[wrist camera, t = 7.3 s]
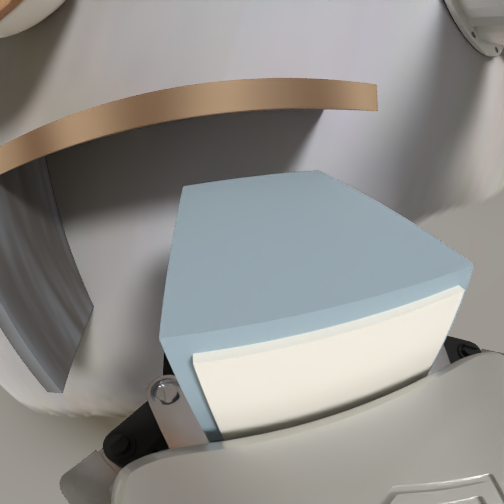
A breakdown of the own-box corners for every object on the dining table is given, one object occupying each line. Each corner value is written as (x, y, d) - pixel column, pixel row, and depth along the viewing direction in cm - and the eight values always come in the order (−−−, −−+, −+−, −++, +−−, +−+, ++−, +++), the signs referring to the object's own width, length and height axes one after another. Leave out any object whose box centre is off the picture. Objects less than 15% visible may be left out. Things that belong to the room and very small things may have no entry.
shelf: (323, 90, 18) (413, 83, 9) (323, 270, 25) (378, 347, 16) (-10, 162, 14) (-88, 201, 6) (43, 311, 22) (6, 386, 13)
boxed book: (317, 170, 12) (480, 269, 4) (312, 333, 17) (374, 457, 9) (183, 186, 11) (157, 348, 3) (217, 352, 16) (241, 494, 8)
